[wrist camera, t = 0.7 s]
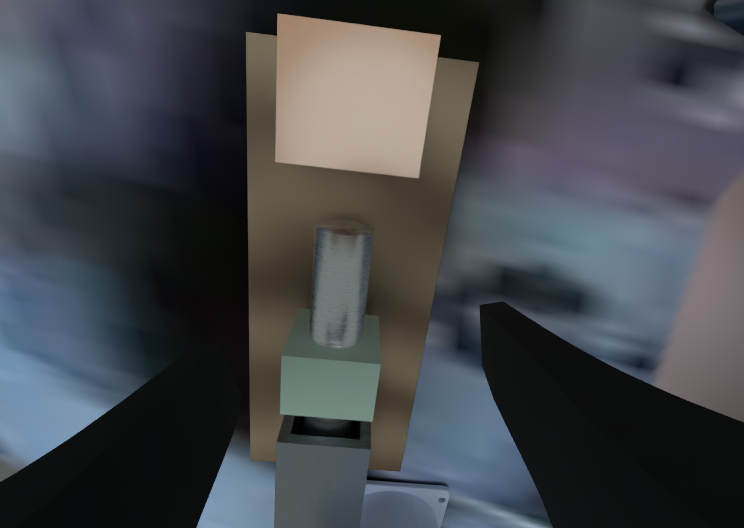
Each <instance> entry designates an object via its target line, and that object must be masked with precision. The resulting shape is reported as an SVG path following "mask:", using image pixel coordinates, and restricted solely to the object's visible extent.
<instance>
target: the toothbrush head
mask: <svg viewBox="0 0 744 528" xmlns="http://www.w3.org/2000/svg"><path fill="white" fill-rule="evenodd" d="M714 17H715V18H717V19H719V20H720V21H722V22H723V23H725V24H726V25H728V26H730V27H731V28H733V29H734V30H736V31H737V32H739V33H741V34H742V35H744V0H717V2H716V3H715V4H714Z"/></svg>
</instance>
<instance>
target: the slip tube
mask: <svg viewBox="0 0 744 528" xmlns="http://www.w3.org/2000/svg"><path fill="white" fill-rule="evenodd" d="M374 232H375V229H374V228H373V227H372V226H370V225H368V224H365V223H361V222H357V221H352V220H343V219H329V220H322V221H319V222H317V223H316V224H315V239H314V256H313V273H312V290H311V307H310V309H302V308H300V309H299V311H298V314H297V316H296V319H295V322H294V324H293V327H292V329H291V332H290V335H289V337H288V340H287V342H286V345H285V348H284V350H283V353H282V356H281V392H280V414H283V415H296V416H304V428H303V435H308V436H320V437H333V438H346V439H350V433H351V425H352V420H357V421H369V422H373V415H374V408H375V402H376V395H377V388H378V381H379V374H380V367H381V356H380V337H379V317H378V316H375V315H365V307H366V299H367V291H368V282H369V274H370V265H371V257H372V249H373V240H374Z"/></svg>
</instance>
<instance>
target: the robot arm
mask: <svg viewBox="0 0 744 528" xmlns="http://www.w3.org/2000/svg"><path fill="white" fill-rule="evenodd" d="M480 325H481V348H482V366H483V369H484V372H485V375H486V378H487V381H488V384H489V387H490V390H491V392H492V395H493V398H494V401H495V403H496V405H497V407H498V409H499V411H500V413H501V415H502V417H503V419H504V421H505V424H506V426H507V428H508V430H509V432H510V434H511V436H512V438H513V440H514V442H515V444H516V446H517V448H518V450H519V452H520V454H521V456H522V458H523V460H524V462H525V464H526V466H527V469H528V471H529V473H530V475H531V477H532V479H533V481H534V483H535V485H536V487H537V490H538V492H539V494H540V496H541V499H542V501H543V503H544V506H545V508H546V511H547V514H548V516H549V519H550V521H551V524H552V527H553V528H744V422H741V421H738V420H736V419H733V418H731V417H728V416H725V415H723V414H720V413H718V412H715V411H712V410H710V409H707V408H705V407H702V406H700V405H697V404H695V403H692V402H689V401H687V400H685V399H682V398H680V397H677V396H675V395H672V394H670V393H668V392H665V391H663V390H661V389H659V388H657V387H654V386H652V385H650V384H648V383H646V382H644V381H641V380H639V379H637V378H635V377H633V376H630V375H628V374H626V373H624V372H622V371H620V370H618V369H616V368H614V367H612V366H610V365H608V364H606V363H605V362H603V361H601V360H599V359H597V358H595V357H593V356H591V355H590V354H588V353H586V352H584V351H582V350H580V349H579V348H577V347H575V346H573V345H572V344H570V343H568V342H567V341H565V340H563V339H562V338H560V337H558V336H557V335H555V334H553V333H552V332H550V331H548V330H547V329H545V328H544V327H542V326H540V325H539V324H537V323H536V322H534V321H533V320H531V319H529V318H528V317H526V316H525V315H523V314H522V313H520V312H519V311H517V310H516V309H514V308H512V307H511V306H509V305H508V304H506V303H504V302H497V303H490V304H483V305H480ZM241 400H242V397H241V394H240V392H239V389H238V387H237V385H236V382H235V380H234V377H233V375H232V372H231V370H230V367H229V365H228V363H227V360H226V358H225V355H224V353H223V350H222V348H221V345H220V343H212V344H205V345H198V346H197V347H195V348H193V349H192V350H190V351H189V352H187V353H186V354H184V355H183V356H182V357H180V358H179V359H177V360H176V361H175V362H173V363H172V364H171V365H169V366H168V367H167V368H165V369H164V370H163V371H161V372H160V373H159V374H157V375H156V376H155V377H153V378H152V379H151V380H150V381H148V382H147V383H146V384H144V385H143V386H142V387H140V388H139V389H138V390H136V391H135V392H134V393H132V394H131V395H130V396H128V397H127V398H126V399H124V400H123V401H122V402H120V403H119V404H118V405H116V406H115V407H113V408H112V409H111V410H109V411H108V412H106V413H105V414H104V415H102V416H101V417H99V418H98V419H97V420H95V421H94V422H93V423H91V424H90V425H88V426H87V427H86V428H84V429H83V430H81V431H80V432H78V433H77V434H76V435H74V436H73V437H71V438H70V439H68V440H67V441H65V442H64V443H62V444H61V445H59V446H58V447H56V448H55V449H53V450H52V451H50V452H48V453H47V454H45V455H44V456H42V457H41V458H39V459H37V460H36V461H34V462H33V463H31V464H29V465H28V466H26V467H25V468H23V469H21V470H20V471H18V472H17V473H15V474H13V475H12V476H10V477H8V478H7V479H5V480H3V481H1V482H0V528H196V527H197V524H198V522H199V519H200V517H201V514H202V512H203V509H204V507H205V504H206V502H207V499H208V497H209V494H210V492H211V489H212V487H213V484H214V482H215V479H216V477H217V474H218V472H219V469H220V466H221V464H222V461H223V459H224V456H225V454H226V451H227V449H228V446H229V443H230V441H231V438H232V435H233V432H234V429H235V425H236V421H237V418H238V413H239V409H240V405H241ZM449 496H450V492H449V489H448V487H446V486H440V485H427V484H413V483H399V482H386V481H372V480H366V487H365V493H364V500H363V507H362V513H361V520H360V527H359V528H441V526H442V522H443V519H444V515H445V511H446V508H447V504H448V500H449Z"/></svg>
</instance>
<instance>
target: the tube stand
mask: <svg viewBox="0 0 744 528" xmlns="http://www.w3.org/2000/svg"><path fill="white" fill-rule="evenodd" d="M440 38H441V35H434V34H426V33H419V32H411V31H404V30H396V29H389V28H382V27H374V26H367V25H359V24H352V23H344V22H337V21H330V20H322V19H315V18H307V17H300V16H292V15H285V14H278V21H277V36H273V35H265V34H258V33H250V32H246V73H247V169H248V264H249V360H250V456H251V460H253V461H266V462H276V478H275V521H274V528H359V527H360V520H361V513H362V507H363V500H364V493H365V487H366V480H367V473H368V469H373V470H387V471H400V469H401V464H402V459H403V453H404V448H405V443H406V438H407V433H408V428H409V422H410V417H411V412H412V407H413V402H414V397H415V391H416V386H417V381H418V376H419V371H420V365H421V360H422V355H423V350H424V345H425V340H426V334H427V329H428V324H429V319H430V314H431V309H432V303H433V298H434V293H435V288H436V283H437V277H438V272H439V267H440V262H441V257H442V252H443V246H444V241H445V236H446V231H447V226H448V221H449V215H450V210H451V205H452V200H453V195H454V189H455V184H456V179H457V174H458V169H459V164H460V158H461V153H462V148H463V143H464V138H465V133H466V127H467V122H468V117H469V112H470V107H471V101H472V96H473V91H474V86H475V81H476V76H477V70H478V65H479V63H478V62H471V61H463V60H455V59H448V58H440V57H438V50H439V44H440ZM329 219H343V220H352V221H357V222H361V223H365V224H368V225H370V226H372V227H373V228H374V229H375V232H374V240H373V249H372V257H371V265H370V274H369V282H368V291H367V299H366V307H365V315H375V316H378V317H379V337H380V356H381V367H380V374H379V381H378V388H377V395H376V402H375V408H374V415H373V422H369V421H357V420H352V425H351V433H350V439H346V438H333V437H320V436H308V435H303V428H304V416H296V415H283V414H280V392H281V356H282V353H283V350H284V348H285V345H286V342H287V340H288V337H289V335H290V332H291V329H292V327H293V324H294V322H295V319H296V316H297V314H298V311H299V309H300V308H302V309H310V307H311V290H312V273H313V256H314V239H315V224H316V223H317V222H319V221H322V220H329Z"/></svg>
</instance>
